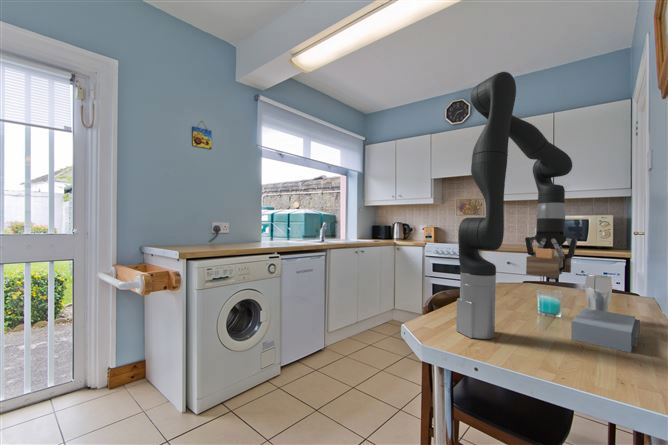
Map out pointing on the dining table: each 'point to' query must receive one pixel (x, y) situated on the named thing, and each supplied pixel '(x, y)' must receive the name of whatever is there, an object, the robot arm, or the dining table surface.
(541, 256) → the orange cube
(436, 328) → the dining table surface
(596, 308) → the beer glass
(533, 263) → the brown wooden box
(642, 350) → the dining table surface
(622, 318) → the block
